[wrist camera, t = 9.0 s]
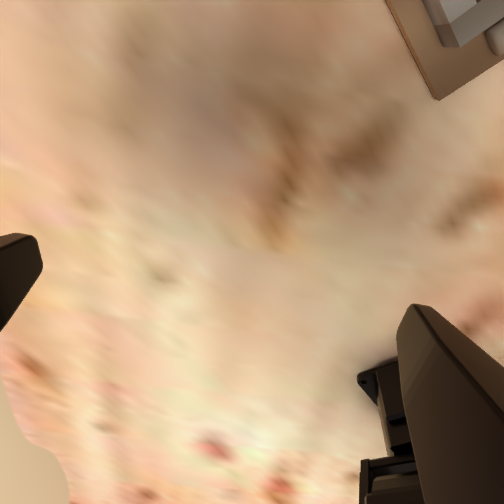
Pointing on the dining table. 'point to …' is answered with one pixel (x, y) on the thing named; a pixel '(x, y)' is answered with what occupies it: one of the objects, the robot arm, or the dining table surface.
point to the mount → (451, 39)
